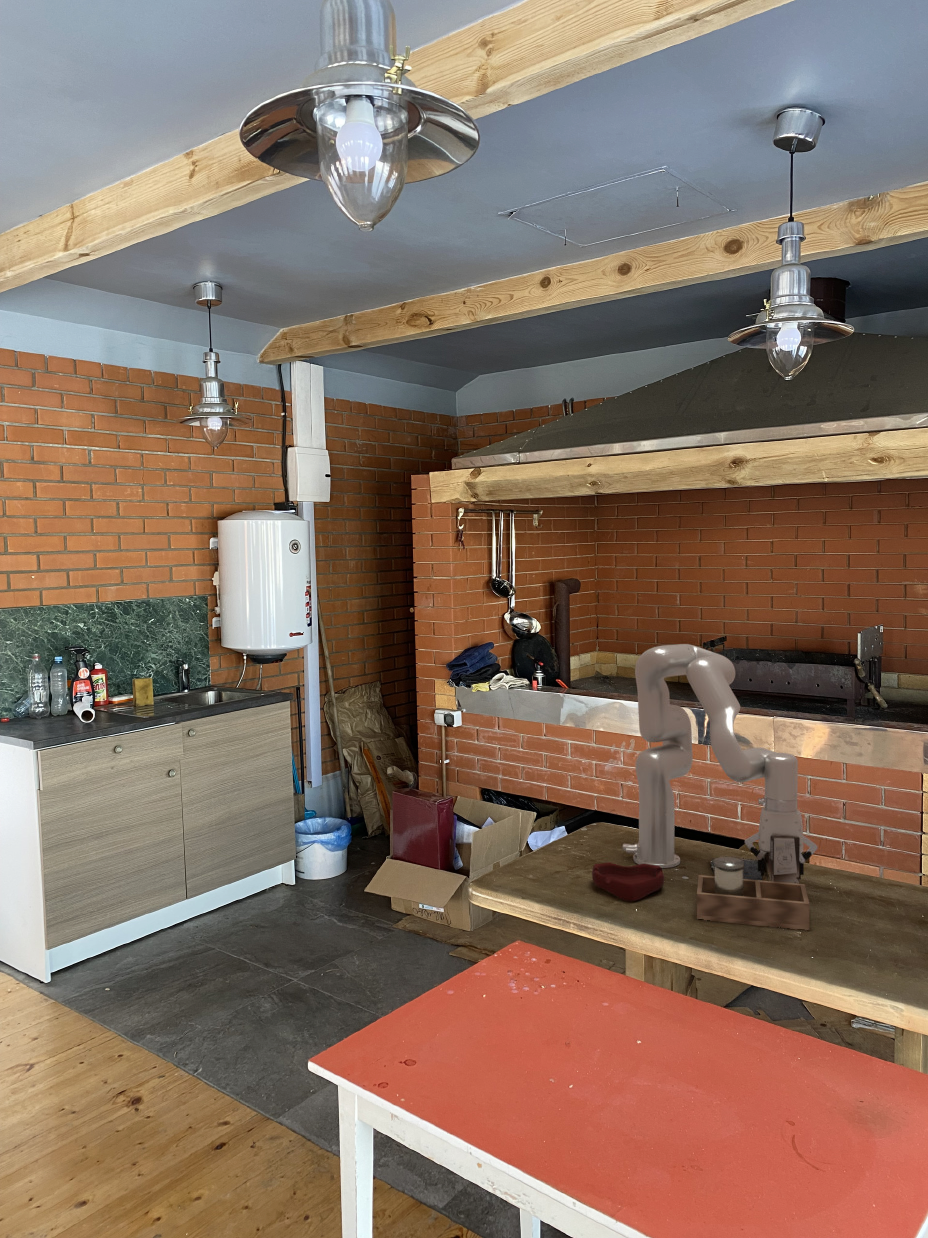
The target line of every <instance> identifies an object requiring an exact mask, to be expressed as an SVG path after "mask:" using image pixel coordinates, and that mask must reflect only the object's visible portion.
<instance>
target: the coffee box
mask: <svg viewBox="0 0 928 1238" xmlns="http://www.w3.org/2000/svg"><path fill="white" fill-rule="evenodd" d="M799 852H800V838H799V837H792V836H771V837H770V852H766V853H765V855H764V856H763V858H764V876H761V881H773V882H784V883H796V884H800V879H799Z"/></svg>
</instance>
